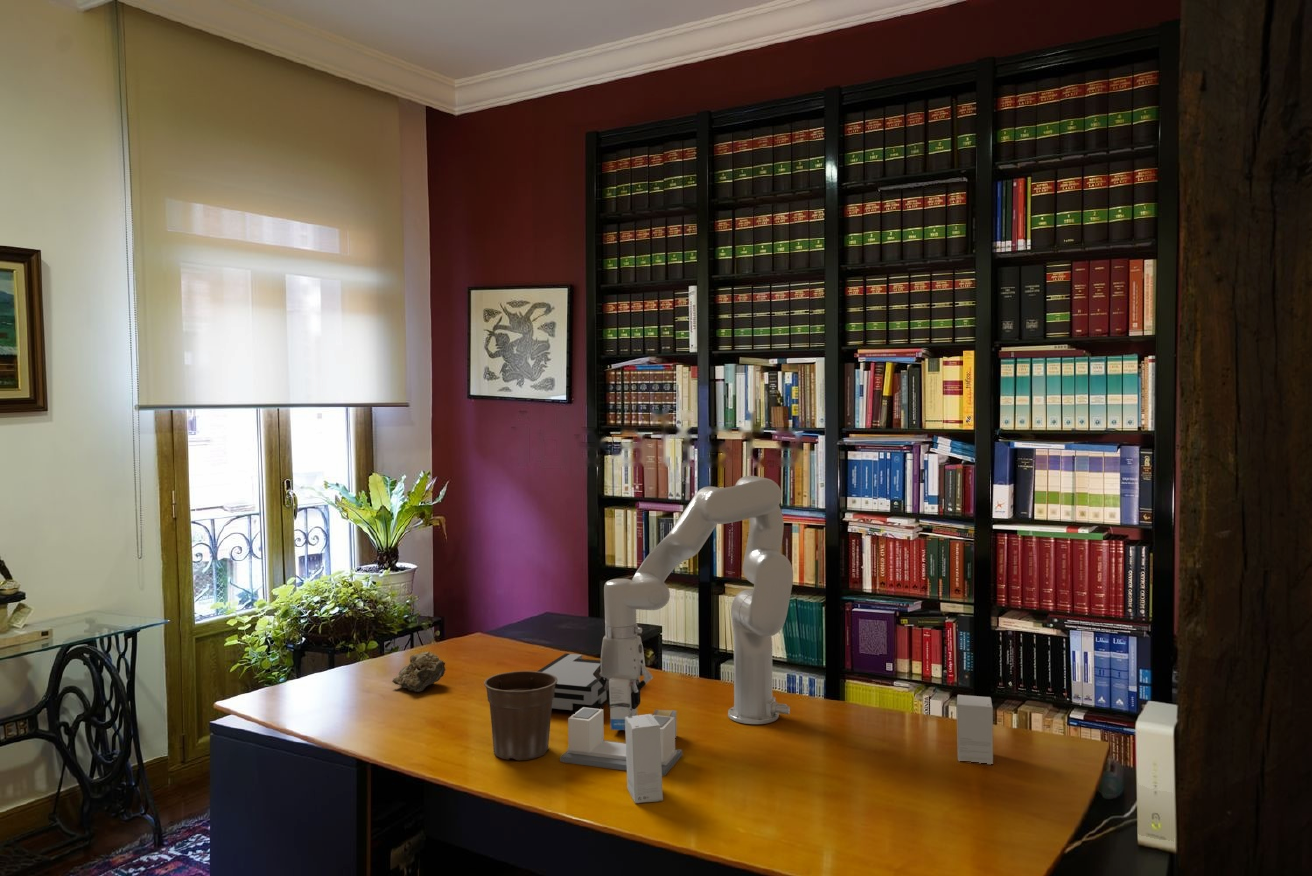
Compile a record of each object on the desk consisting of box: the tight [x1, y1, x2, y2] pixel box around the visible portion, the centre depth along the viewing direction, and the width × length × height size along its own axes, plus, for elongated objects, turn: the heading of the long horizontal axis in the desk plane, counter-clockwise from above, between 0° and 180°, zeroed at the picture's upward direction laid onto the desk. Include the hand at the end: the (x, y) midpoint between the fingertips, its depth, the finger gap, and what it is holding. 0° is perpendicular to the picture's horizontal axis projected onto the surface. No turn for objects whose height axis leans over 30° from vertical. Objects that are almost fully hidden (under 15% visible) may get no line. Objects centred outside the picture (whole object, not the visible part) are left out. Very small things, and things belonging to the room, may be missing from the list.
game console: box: [537, 653, 608, 714], centre depth 241 cm, size 21×32×8 cm, turn 162°
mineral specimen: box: [391, 651, 446, 693], centre depth 250 cm, size 14×13×10 cm
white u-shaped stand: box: [559, 707, 683, 777], centre depth 196 cm, size 24×12×9 cm, turn 71°
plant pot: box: [483, 670, 558, 761], centre depth 201 cm, size 16×16×16 cm
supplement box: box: [956, 694, 994, 765], centre depth 195 cm, size 7×7×13 cm
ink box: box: [609, 678, 638, 731], centre depth 215 cm, size 9×5×12 cm, turn 168°
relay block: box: [652, 709, 678, 738], centre depth 208 cm, size 5×6×6 cm
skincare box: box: [624, 713, 664, 804], centre depth 177 cm, size 8×6×15 cm
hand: (623, 705), depth 215 cm, fingers closed on ink box, 5 cm apart
